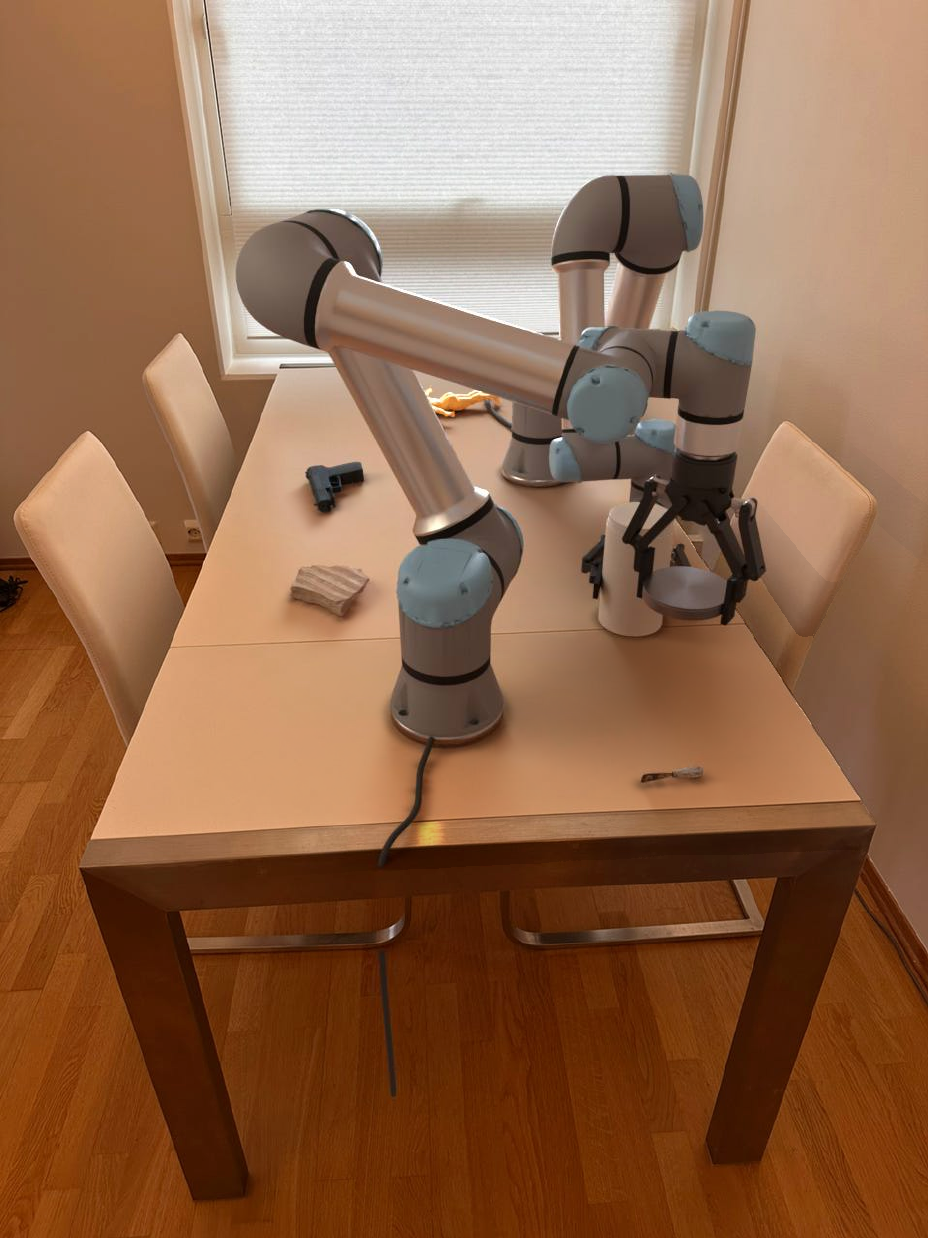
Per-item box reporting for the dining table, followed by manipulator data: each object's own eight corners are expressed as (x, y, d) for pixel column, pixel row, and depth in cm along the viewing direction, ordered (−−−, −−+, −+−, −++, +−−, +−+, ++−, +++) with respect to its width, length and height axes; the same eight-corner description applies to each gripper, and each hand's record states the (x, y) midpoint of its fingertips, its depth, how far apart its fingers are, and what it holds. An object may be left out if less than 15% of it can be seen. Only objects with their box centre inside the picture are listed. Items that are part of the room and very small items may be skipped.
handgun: (375, 507, 177) (315, 514, 174) (360, 472, 191) (304, 479, 188) (374, 492, 175) (313, 499, 172) (359, 458, 189) (302, 465, 187)
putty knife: (703, 777, 109) (705, 767, 109) (642, 788, 108) (644, 777, 107) (700, 772, 110) (702, 762, 109) (639, 782, 109) (640, 771, 108)
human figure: (395, 413, 223) (394, 398, 221) (438, 390, 237) (438, 375, 235) (462, 429, 215) (462, 413, 213) (502, 404, 229) (503, 388, 227)
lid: (664, 569, 124) (665, 558, 123) (742, 592, 118) (744, 581, 117) (627, 604, 116) (628, 592, 115) (709, 630, 110) (711, 618, 109)
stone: (378, 583, 151) (377, 570, 149) (343, 618, 141) (342, 604, 140) (312, 570, 155) (310, 557, 154) (274, 603, 146) (272, 589, 144)
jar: (671, 614, 142) (686, 510, 133) (647, 643, 135) (660, 535, 125) (614, 597, 147) (624, 495, 137) (587, 624, 140) (596, 519, 130)
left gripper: (815, 460, 103) (782, 621, 114) (631, 421, 115) (618, 570, 126) (792, 481, 97) (760, 648, 109) (602, 438, 110) (591, 592, 121)
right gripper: (709, 558, 151) (704, 627, 133) (577, 543, 156) (555, 607, 138) (716, 518, 148) (712, 583, 129) (580, 504, 153) (558, 564, 134)
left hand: (684, 606), depth 118 cm, fingers closed on lid, 11 cm apart
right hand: (631, 595), depth 134 cm, fingers closed on jar, 10 cm apart
